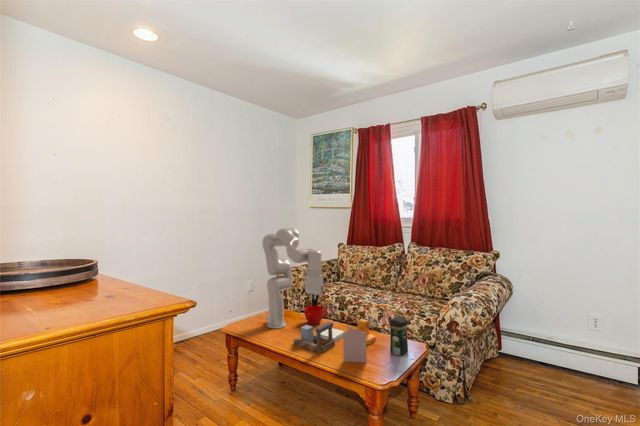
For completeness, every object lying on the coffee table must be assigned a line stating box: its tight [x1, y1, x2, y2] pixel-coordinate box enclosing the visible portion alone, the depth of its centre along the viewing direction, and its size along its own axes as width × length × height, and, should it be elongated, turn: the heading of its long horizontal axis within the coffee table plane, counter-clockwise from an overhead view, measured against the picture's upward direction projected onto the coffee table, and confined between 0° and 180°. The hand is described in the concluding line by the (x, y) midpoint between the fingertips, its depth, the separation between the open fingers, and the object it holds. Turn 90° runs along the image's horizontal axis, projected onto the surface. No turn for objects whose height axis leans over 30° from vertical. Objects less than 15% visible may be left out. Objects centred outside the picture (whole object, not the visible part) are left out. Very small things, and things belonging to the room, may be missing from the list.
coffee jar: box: [389, 315, 409, 357], centre depth 168 cm, size 10×8×19 cm
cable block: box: [300, 324, 314, 344], centre depth 182 cm, size 5×5×9 cm
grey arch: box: [314, 321, 334, 346], centre depth 174 cm, size 3×12×9 cm, turn 142°
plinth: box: [321, 327, 346, 342], centre depth 190 cm, size 12×12×2 cm
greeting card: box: [342, 326, 368, 363], centre depth 159 cm, size 11×7×15 cm, turn 48°
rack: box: [292, 333, 336, 355], centre depth 179 cm, size 20×12×3 cm, turn 52°
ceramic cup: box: [303, 304, 325, 326], centre depth 211 cm, size 13×17×10 cm
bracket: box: [356, 318, 377, 346], centre depth 182 cm, size 11×7×12 cm, turn 134°
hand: (314, 305), depth 178 cm, fingers closed
